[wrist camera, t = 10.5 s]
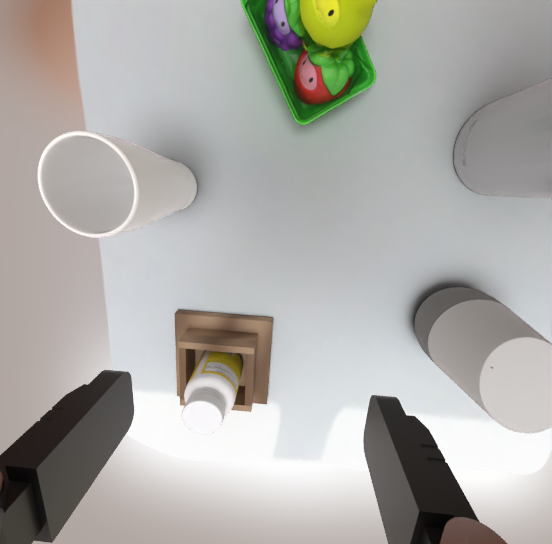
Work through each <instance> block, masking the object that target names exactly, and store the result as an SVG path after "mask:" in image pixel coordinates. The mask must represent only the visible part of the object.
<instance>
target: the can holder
mask: <svg viewBox="0 0 552 544" xmlns="http://www.w3.org/2000/svg"><path fill="white" fill-rule="evenodd" d="M272 326H273V318H272V317H260V316H248V315H236V314H224V313H212V312H200V311H188V310H178V311H177V312H176V313H175V338H176V371H177V396H180V405H185V404H186V403H185V399H184V393H185V389H186V386H187V384H188V382H189V380H190V378H191V376H192V374H193V372H194V370H195V368H196V366H197V364H198V362H199V360H200V358H201V356H202V354H203V352H204V351H205V350H209V351H220V352H232V353H241V355H242V357H243V370H242V374H241V378H240V382H239V386H238V391H237V395H236V399H235V402H234V405H233V408H232V409H231V410H238V411H249V412H251V409H252V403H259V404H267V395H268V381H269V367H270V353H271V339H272Z"/></svg>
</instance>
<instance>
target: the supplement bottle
mask: <svg viewBox="0 0 552 544" xmlns="http://www.w3.org/2000/svg"><path fill="white" fill-rule="evenodd" d="M242 370H243V357H242V355H241V353H232V352H220V351H209V350H205V351H204V352H203V354H202V356H201V358H200V360H199V362H198V364H197V366H196V368H195V370H194V372H193V374H192V376H191V378H190V380H189V382H188V384H187V386H186V389H185V393H184V399H185V403H186V404H185V407H184V409H183V411H182V420H183V422H184V424H185V426H186V427H187V428H188V429H189V430H191V431H193V432H195V433H198V434H210V433H213V432H215V431H217V430H218V429H219V428H220V426H221V425H222V422H223V418H224V416H225V415H227V414H228V413H229V412H230V411H231V409H232V408H233V405H234V402H235V399H236V395H237V391H238V386H239V382H240V378H241V374H242Z"/></svg>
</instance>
